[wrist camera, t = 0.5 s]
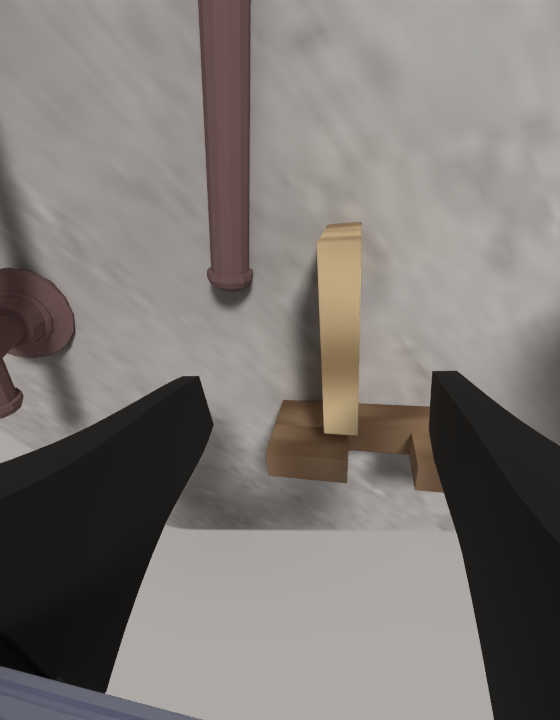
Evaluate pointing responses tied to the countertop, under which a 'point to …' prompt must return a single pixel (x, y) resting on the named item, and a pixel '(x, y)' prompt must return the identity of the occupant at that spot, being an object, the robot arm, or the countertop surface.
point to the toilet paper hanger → (224, 184)
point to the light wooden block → (340, 324)
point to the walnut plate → (350, 442)
